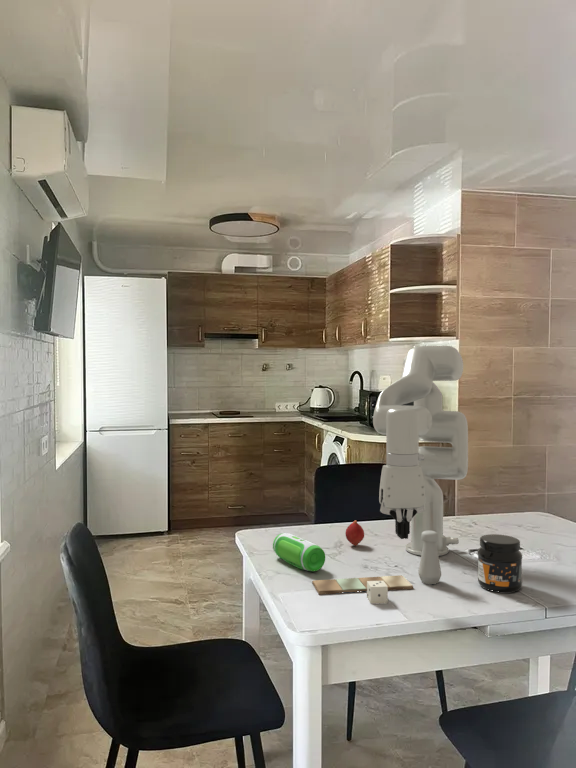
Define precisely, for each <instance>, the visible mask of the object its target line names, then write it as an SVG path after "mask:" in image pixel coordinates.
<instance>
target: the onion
mask: <svg viewBox="0 0 576 768" xmlns="http://www.w3.org/2000/svg"><path fill="white" fill-rule="evenodd" d="M344 534H345V538H346V540H347V541H348V542H349V543H350V544H351V545H353V546H354V547H357V546H358V545H359V544H360V543H361V542H362V541H364V538H365V531H364V529H363V527H362V526H361V525H360V524H359V523H358V521H357V520H354V521H352V523H350V524H349V525H348V526H347V528H346V529H345V533H344Z"/></svg>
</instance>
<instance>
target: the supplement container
mask: <svg viewBox="0 0 576 768" xmlns="http://www.w3.org/2000/svg"><path fill="white" fill-rule="evenodd" d="M479 546H480V547H479V548H478V550H477V556H478V558H477V563H478V564H477V565H478V569H477V570H478V571H477V573H478V576H477V582H478V584H479V585H480V586H481V587H482V588H483V587H484V588H483V589H485V588H486V590H487V589H489V590H488V591H490V590H493V591H492V592H494V591H499V592H498V593H500V592H512V593H515V591H516V592H518V591H519V590H521V588H522V586H523V581H522V580H523V579H522V578H523V577H522V576H523V574H522V573H523V569H522V568H523V566H522V565H523V564H522V562H523V561H522V560H523V553H522V552H521V551H520V550H521V540H519V539H518V538H517V537H515V536H511V535H506V534H497V533H495V534H492V533H491V534H485V535H481V536H480V537H479Z"/></svg>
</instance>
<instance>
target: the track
mask: <svg viewBox="0 0 576 768" xmlns="http://www.w3.org/2000/svg"><path fill="white" fill-rule="evenodd" d="M367 581H384V582H385V584H386V585H387V586H388V591H401V590H402V591H403V590H414V586H413V584H412V583H411V582H410V581H409V580H407V579H406V578H405V577H404V575H386V576H385V575H384V576H383V575H382V576H369V577H367V576H366V577H349V578H336V579H335V578H334V579H333V578H332V579H317V580H315V579H314V580H312V582H311V583H312V585H313V587H314V588H315V590H316V592H317V594H318V595H319V596H320V595H321V596H322V595H337V594H336V593H339V594H343V593H342V592H355V593H361V592H360V591H367ZM357 591H359V592H357Z"/></svg>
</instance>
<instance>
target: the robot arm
mask: <svg viewBox="0 0 576 768" xmlns="http://www.w3.org/2000/svg"><path fill="white" fill-rule="evenodd" d="M402 364H403V365H402V366H403V368H402V371H401V376H400V378H399V379H397V380H395V381H394V382H392V383H390V385H388V386H386V388H384V389H383V390H382V391H381V392H380V393H379V395H378V398H377V400H376V403H375V404H376V405H375V407H374V411H373V418H372V424H373V427H374V430H375V431H376V432H377V433H378V434H380V435H383V436H385V437H386V439H385V440H386V443H385V444H386V460H385V461H386V462H385V463H386V464H384V465H382V468H381V475H380V483H379V492H378V493H379V494H378V495H379V497H378V501H379V504H380V509H379V512H380V513H382V514H384V515H389V516H391V517H392V518H393V520H394V522H395V531H394V532H395V535H396V536H397V537H398V538H399V539H400V540H404V539H405V540H407V539H409V534H410V542H408V543H406V545H405V550H406V551H407V553H410V554H412V555H415V556H421V555H422V550H423V544H424V541H423V540H422V537H421V535H422V532H424V531H428V530H430V531H435V532H437V533H438V537H439V538H438V541H437V542H436V544H437V550H438V556H439V557H441V556H444V555H447V554H448V553H449V546H450V545H459V543H460V541H459V538H458V537H451V536H446V535H444V494H443V493H444V492H443V490H442V488H441V487H440V485H439V484H438V483H437V481H436V480H438V479H439V480H456V481H457V480H458V481H459V480H463V479H465V478H466V477H467V474H468V469H469V427H468V419H467V417H466V415H465V414H464V413H463V412H461V411H456V410H443V394H442V391H441V390H440V389H439V387H438V386H437V385H436V384H435V383H434V382H447V381H448V382H455V381H458V380H460V379H461V377H462V375H463V373H464V360H463V356H462V355H461V353H460V352H459V351H458V349H457V348H456V347H453V346H452V345H451V346H450V345H420V346H415V347H413V348H410V349H409V350H408V352H407V353H406V355H405V356H404V359H403V362H402ZM410 403H413V405H407V404H410ZM419 441H420V442H425V443H426V442H427V443H444V444H447V443H449V444H451V447H450V446H449V447H448V446H427V445H423V446H419ZM402 510H403V513H402Z"/></svg>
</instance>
